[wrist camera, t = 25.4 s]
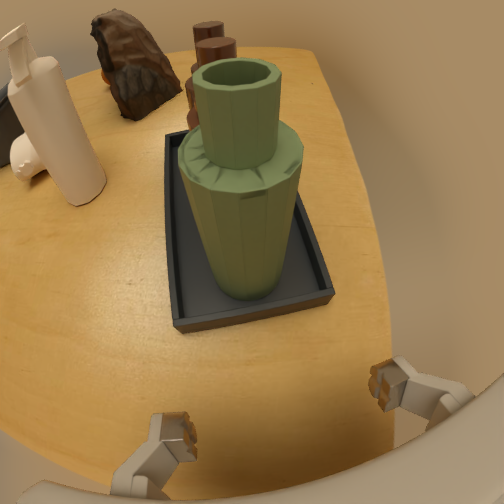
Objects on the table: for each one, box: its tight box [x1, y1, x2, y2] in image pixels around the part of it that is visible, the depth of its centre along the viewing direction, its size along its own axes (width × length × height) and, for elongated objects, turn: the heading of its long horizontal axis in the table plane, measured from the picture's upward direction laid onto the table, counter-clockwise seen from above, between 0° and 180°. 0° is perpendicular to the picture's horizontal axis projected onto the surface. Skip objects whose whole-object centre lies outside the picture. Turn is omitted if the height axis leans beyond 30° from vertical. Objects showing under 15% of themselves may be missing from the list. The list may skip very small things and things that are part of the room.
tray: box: [164, 130, 335, 334], centre depth 28 cm, size 24×13×3 cm, turn 12°
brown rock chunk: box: [90, 9, 182, 121], centre depth 33 cm, size 13×13×20 cm
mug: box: [10, 132, 46, 181], centre depth 32 cm, size 12×9×8 cm
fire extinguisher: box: [0, 23, 107, 206], centre depth 21 cm, size 7×12×25 cm, turn 32°
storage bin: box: [0, 82, 25, 167], centre depth 35 cm, size 21×16×14 cm
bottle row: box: [185, 21, 237, 132], centre depth 21 cm, size 11×5×18 cm, turn 12°
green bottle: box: [178, 58, 304, 301], centre depth 17 cm, size 6×6×18 cm
